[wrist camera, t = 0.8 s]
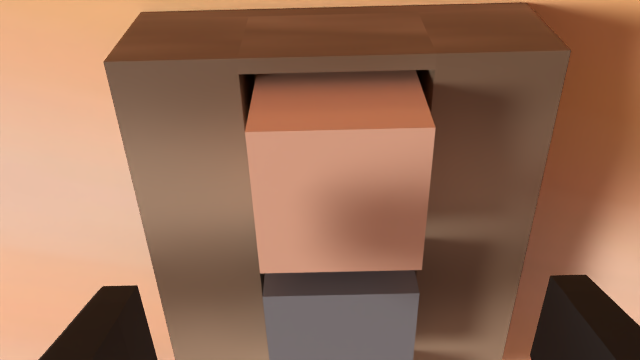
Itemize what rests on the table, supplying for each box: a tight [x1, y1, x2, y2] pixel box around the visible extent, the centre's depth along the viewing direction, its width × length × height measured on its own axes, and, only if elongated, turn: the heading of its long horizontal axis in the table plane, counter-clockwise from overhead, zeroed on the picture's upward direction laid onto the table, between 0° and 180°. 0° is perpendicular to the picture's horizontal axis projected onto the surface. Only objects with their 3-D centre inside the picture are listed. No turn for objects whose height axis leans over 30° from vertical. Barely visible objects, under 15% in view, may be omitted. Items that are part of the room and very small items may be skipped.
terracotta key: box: [245, 70, 436, 273], centre depth 15 cm, size 4×4×3 cm
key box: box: [104, 3, 571, 360], centre depth 20 cm, size 15×11×4 cm
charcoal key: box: [263, 270, 420, 360], centre depth 18 cm, size 4×4×3 cm
